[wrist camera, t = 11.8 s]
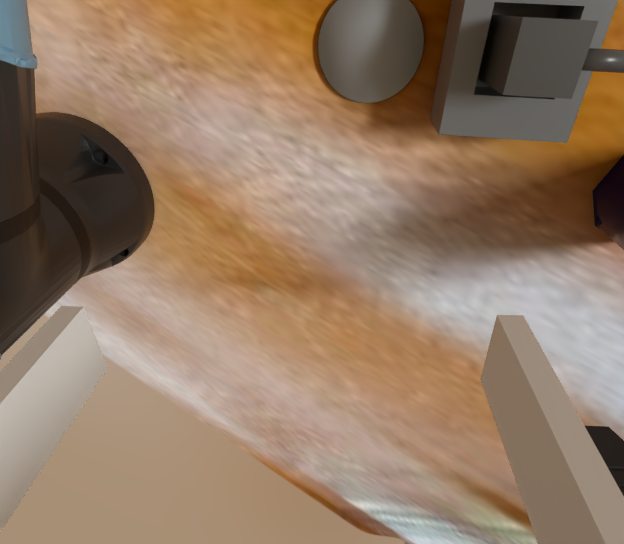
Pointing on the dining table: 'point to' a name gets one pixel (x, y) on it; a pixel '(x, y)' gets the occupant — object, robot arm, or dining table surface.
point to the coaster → (370, 47)
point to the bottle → (611, 203)
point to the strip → (485, 101)
